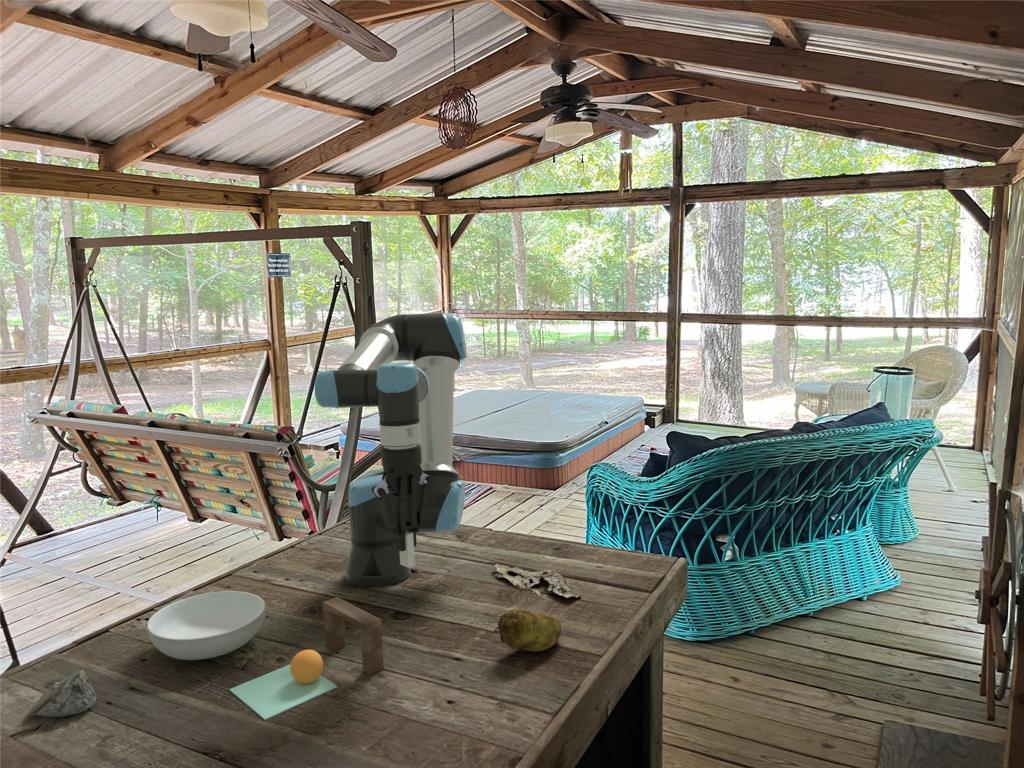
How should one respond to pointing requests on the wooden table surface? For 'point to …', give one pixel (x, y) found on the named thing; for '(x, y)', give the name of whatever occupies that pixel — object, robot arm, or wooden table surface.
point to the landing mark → (279, 692)
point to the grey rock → (66, 697)
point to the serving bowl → (206, 624)
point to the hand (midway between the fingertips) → (407, 564)
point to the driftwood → (536, 580)
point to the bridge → (368, 624)
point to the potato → (528, 630)
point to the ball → (306, 666)
